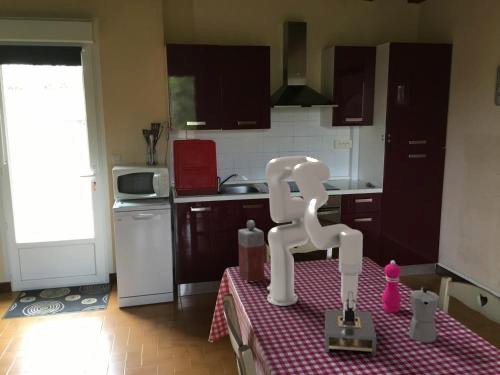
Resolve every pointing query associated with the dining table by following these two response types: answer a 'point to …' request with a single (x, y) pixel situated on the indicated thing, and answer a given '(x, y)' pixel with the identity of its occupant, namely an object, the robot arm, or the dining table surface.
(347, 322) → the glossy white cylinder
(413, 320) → the coffeepot
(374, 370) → the dining table surface
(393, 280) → the pepper mill
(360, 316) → the grey square socket block
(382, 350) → the dining table surface
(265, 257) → the brown lidded canister
